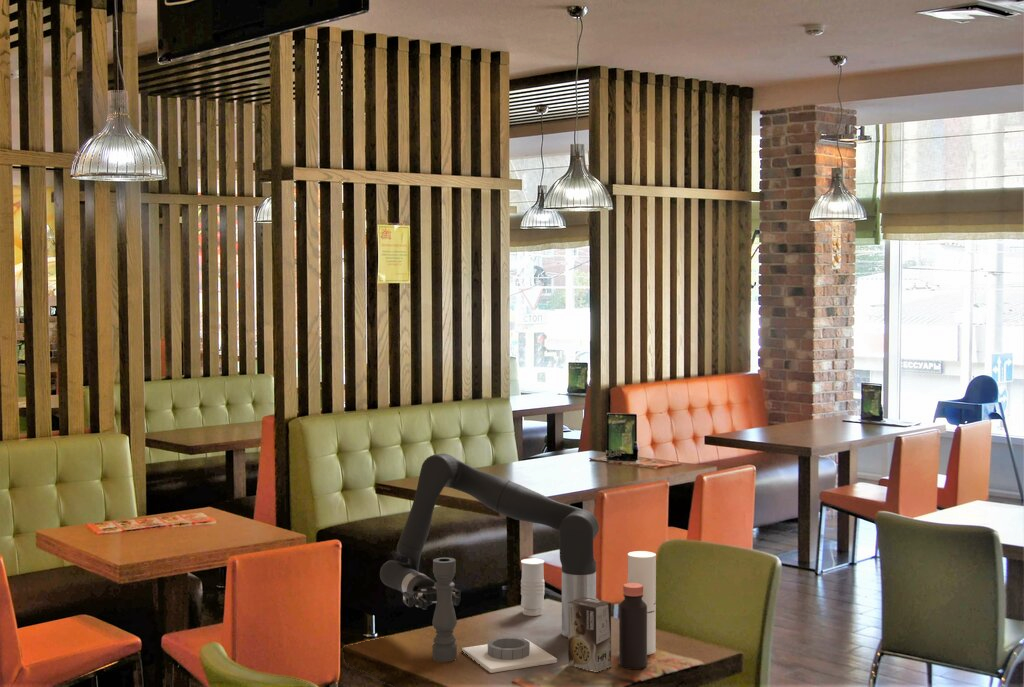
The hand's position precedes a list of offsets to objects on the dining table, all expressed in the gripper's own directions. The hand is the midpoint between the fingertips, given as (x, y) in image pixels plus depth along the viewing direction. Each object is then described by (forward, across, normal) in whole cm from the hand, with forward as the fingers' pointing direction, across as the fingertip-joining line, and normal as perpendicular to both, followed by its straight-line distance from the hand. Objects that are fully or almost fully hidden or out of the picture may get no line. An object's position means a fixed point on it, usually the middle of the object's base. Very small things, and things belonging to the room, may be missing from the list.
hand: (441, 603), depth 286 cm
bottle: (+27, +40, +14) cm, 50 cm away
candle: (-25, +38, +14) cm, 48 cm away
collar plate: (+8, +15, +14) cm, 22 cm away
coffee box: (+23, +30, +14) cm, 40 cm away
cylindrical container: (+18, +48, +14) cm, 53 cm away
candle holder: (+2, 0, +14) cm, 14 cm away
